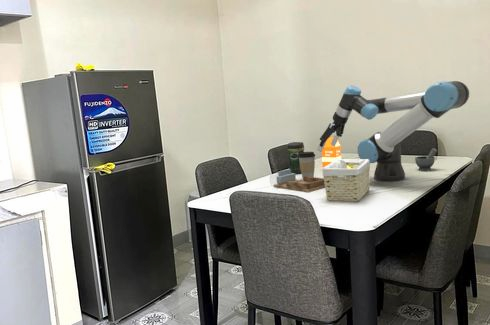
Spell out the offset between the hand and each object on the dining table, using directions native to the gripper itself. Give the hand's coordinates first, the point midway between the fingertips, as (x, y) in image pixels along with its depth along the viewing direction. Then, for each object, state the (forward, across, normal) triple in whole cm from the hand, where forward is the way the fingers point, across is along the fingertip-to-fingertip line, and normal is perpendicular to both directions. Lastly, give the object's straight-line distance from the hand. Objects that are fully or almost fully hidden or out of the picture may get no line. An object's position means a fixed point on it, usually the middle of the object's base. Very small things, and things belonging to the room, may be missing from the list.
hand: (325, 148), depth 230 cm
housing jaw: (+17, +23, -3) cm, 29 cm away
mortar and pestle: (-5, -35, +44) cm, 57 cm away
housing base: (+13, +24, +7) cm, 28 cm away
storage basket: (-4, +32, +32) cm, 45 cm away
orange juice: (+20, -19, +2) cm, 28 cm away
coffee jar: (+28, -6, -12) cm, 31 cm away
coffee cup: (+17, +9, +2) cm, 20 cm away
